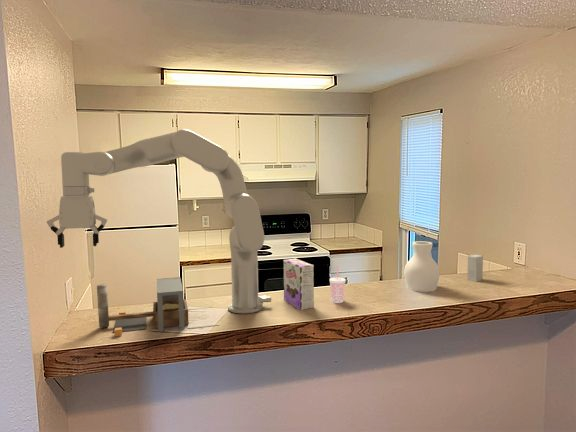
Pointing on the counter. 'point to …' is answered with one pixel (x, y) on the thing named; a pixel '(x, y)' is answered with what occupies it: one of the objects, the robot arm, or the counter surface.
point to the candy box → (299, 283)
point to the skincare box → (475, 268)
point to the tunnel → (165, 292)
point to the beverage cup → (337, 289)
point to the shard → (170, 307)
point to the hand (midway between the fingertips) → (78, 246)
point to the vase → (422, 269)
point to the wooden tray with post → (168, 316)
